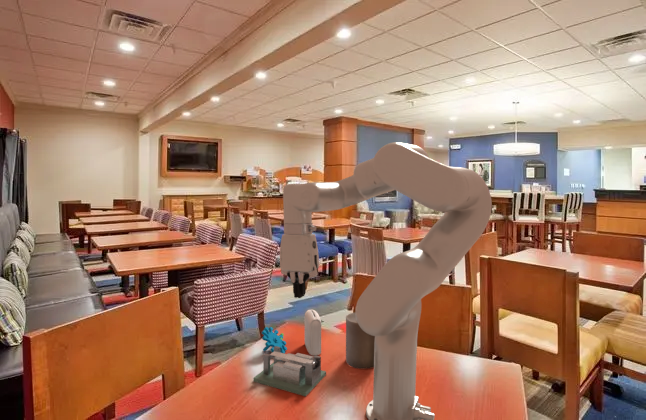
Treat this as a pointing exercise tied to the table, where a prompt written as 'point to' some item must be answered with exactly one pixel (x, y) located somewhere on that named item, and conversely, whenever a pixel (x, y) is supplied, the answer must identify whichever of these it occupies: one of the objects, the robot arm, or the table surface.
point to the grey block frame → (293, 369)
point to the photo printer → (313, 332)
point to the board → (300, 390)
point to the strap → (292, 358)
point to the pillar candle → (358, 345)
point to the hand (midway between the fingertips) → (299, 296)
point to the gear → (273, 340)
